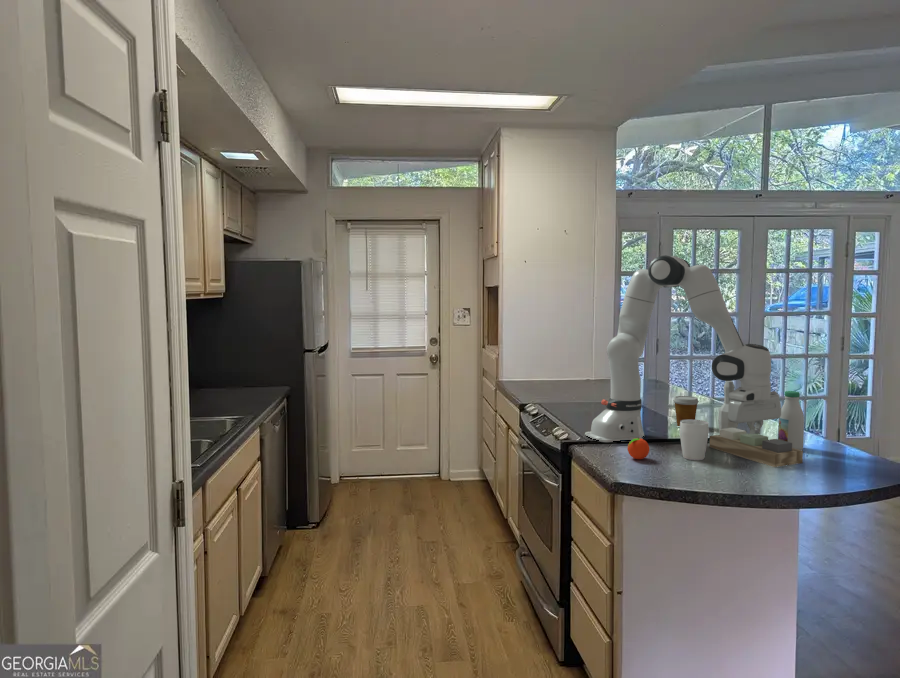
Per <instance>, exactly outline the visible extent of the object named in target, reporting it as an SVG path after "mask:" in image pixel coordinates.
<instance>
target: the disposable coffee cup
mask: <svg viewBox="0 0 900 678" xmlns="http://www.w3.org/2000/svg"><path fill="white" fill-rule="evenodd" d="M672 401H673V403H674V410H675V417H676V419H675V421H676V427H677V426H680V421H681V420H687V419H693V420H696V416H697V411H698V410H697V409H698V405H699V398H698V397H696V396H690V395H677V396H674V399H673V400H672Z"/></svg>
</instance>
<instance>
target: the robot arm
mask: <svg viewBox="0 0 900 678" xmlns="http://www.w3.org/2000/svg"><path fill="white" fill-rule="evenodd" d="M677 287H681V288H682V290H683V291H684V293H685V295H686V299H687V302H688V305H689V307H690V309H691V312H692V313H693V315H694V316H695V318H696V319H697V320H699V321H701V322H703V323H705V324H707V325H708V326H710V327H712V328H713V330H714V331H715V332H716V334H717V336H718V338H719V340H720V342H721V344H722V347H723V349H724V353H721V354H719V355H717V356H716V357H714V358H713V361H712V362H711V371H712V374H713V375H714V376H715V378H716V379H718V380H720V381H723V382H726V381H733V382H734V381H740V382H741V383H740V384H741V385H740V386H739V387H738V388H736V389H734V391H732V392H730V393H729V398H730V399H732V400H731V401H730V402H729V408H728V418H729V420H730V422H733V423H738V424H746V425H747V427H748V429H749V433H750V434H760V435H761V429H762V428H763V425H764V421H769V420H777V419H778V420H779V418H780V417H781V408H782V403H781V399H780V394H779V393H778V392H777V391H775V390H772V388H771V387H772V382H771V378H770V377H771V373H772V358H771V351H770V350H769V348H768V347H766V346H764V345H760V344H756V343H746V344H744V343H743V341H742V339H741V336H740V334H739V332H738V329H737V327H736V325H735V323H734V320H733V319H732V317H731V314H730V313H729V310H728V308H727V305H726V303H725V300H724V297H723V293H722V291H721V288H720V286H719V284H718V281H717V279H716V277H715V275H714V273H713V272H712V270H711V269H710V268H709V267H708V266H707V265H703V264H696V265H693V266H691V265H690V263H689V262H688V261H687V260H685V259H684V258H681V257H678V256H676V255H660V256H657V257H655V258H653V260H651V261H650V263H649V266H648V268H646V269H645V268H643V269H641V268H640V269H638V270H636V271H634V272H633V274H632V275H631V278H630V280H629V282H628V285H627V288H626V291H625V294H624V298H623V301H622V305H621V308H620V311H619V315H618V316H619V319H618V320H619V321H618V330H617V334H616V336H614V337H612V338H611V339H610V340H609V343H608V344H607V346H606V354H607V360H608V368H609V376H610V397H609V399H608V400H607V399H604V398H603V399H602V400H601V402H600V403H601V405H603V406H606V408H605V409H604V410H602V411H601V413H599V414H598V415H597V416H596V417H595V418H593V420H592V422H591V426H590V427H591V428H590V431H585V433H584V436H585V435H586V436H588V437H590V438H592V439H591V440H593V439H596V440H599V441H598V442H601V443H614V442H613V441H620V440H633V439H635V438H641V439H643V438H644V437H645V432H644V428H643V422H642V412H641V411H642V406H643V404H642V398H641V388H642V387H641V385H642V384H641V383H642V382H641V374H640V367H639V358H640V357H642V355H643V353H644V352H645V351H644V350H645V346H646V340H647V338H648V331H649V324H650V321H651V317H652V315H653V314H652V313H653V310H654V308H655V307H654V305H655V302H656V299H657V295H658V293H659V291H660V290H661V288H677ZM586 436H585V437H586ZM643 436H644V437H643ZM588 437H587V438H588ZM642 437H643V438H642ZM590 438H589V439H590ZM596 440H595V441H596Z"/></svg>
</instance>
